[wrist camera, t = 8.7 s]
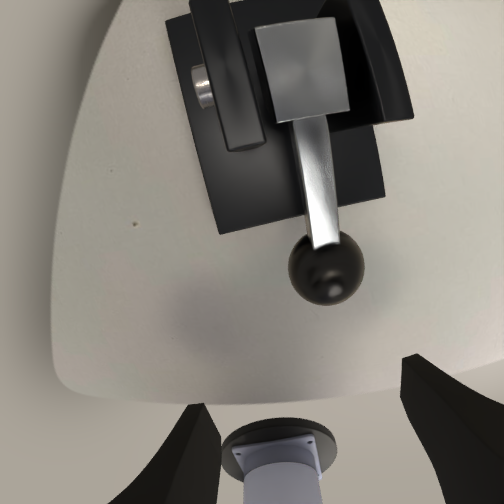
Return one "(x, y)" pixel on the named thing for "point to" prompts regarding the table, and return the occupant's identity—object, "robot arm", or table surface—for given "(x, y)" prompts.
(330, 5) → the bracket
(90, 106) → the table surface
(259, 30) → the lever
